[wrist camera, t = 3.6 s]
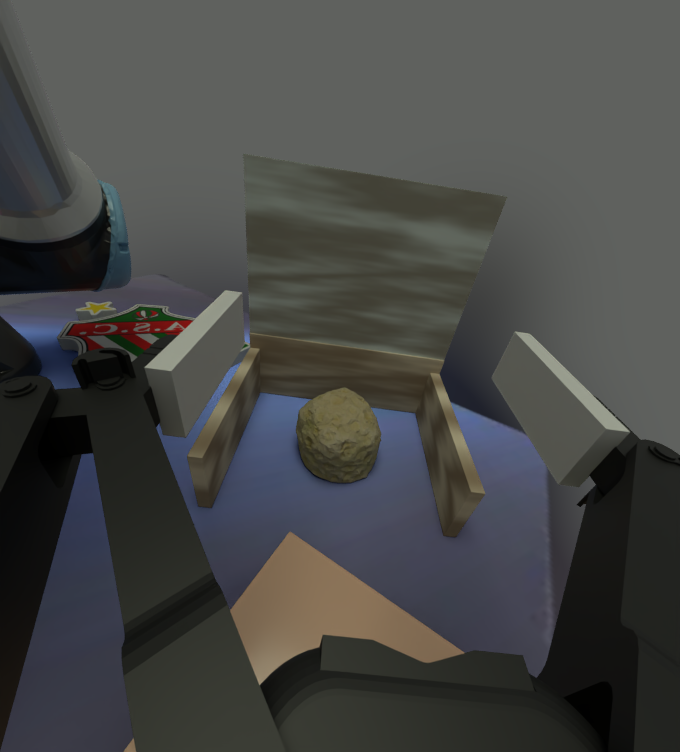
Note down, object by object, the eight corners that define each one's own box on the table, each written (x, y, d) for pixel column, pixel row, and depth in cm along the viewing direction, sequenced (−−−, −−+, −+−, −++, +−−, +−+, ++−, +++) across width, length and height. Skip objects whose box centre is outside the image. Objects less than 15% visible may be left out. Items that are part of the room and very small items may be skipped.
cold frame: (455, 537, 29) (662, 232, 14) (198, 506, 28) (116, 144, 13) (422, 408, 45) (502, 196, 29) (254, 385, 44) (246, 154, 28)
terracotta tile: (91, 800, 15) (86, 800, 15) (289, 536, 27) (289, 531, 27) (379, 1226, 10) (384, 1247, 9) (469, 662, 22) (474, 659, 21)
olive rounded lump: (342, 440, 42) (311, 378, 39) (408, 443, 36) (377, 369, 33) (302, 492, 36) (260, 424, 33) (372, 507, 30) (329, 424, 26)
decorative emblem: (135, 403, 36) (17, 317, 47) (139, 417, 37) (24, 331, 48) (253, 345, 49) (141, 290, 60) (254, 357, 51) (143, 301, 62)
